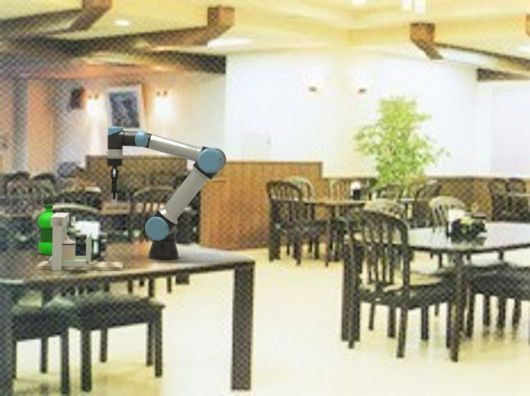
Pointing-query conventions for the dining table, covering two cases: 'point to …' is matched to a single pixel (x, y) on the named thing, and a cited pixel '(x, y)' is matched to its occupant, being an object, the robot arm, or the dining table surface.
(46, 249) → the plastic bottle
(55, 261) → the press frame
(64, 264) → the press carriage
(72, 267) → the press track
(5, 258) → the dining table surface
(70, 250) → the teacup with lid
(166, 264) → the dining table surface
